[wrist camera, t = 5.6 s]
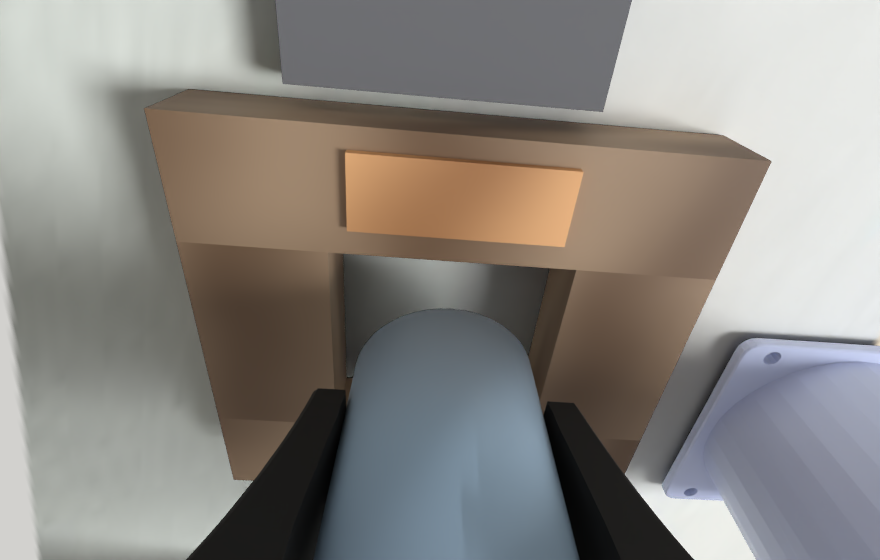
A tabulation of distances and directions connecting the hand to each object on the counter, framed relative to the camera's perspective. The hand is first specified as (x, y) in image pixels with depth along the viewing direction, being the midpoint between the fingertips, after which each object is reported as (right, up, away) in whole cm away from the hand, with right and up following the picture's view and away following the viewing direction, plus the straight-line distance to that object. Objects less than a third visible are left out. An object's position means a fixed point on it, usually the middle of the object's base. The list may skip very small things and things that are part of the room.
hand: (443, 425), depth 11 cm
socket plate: (0, +2, +4) cm, 4 cm away
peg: (0, +1, +1) cm, 1 cm away
